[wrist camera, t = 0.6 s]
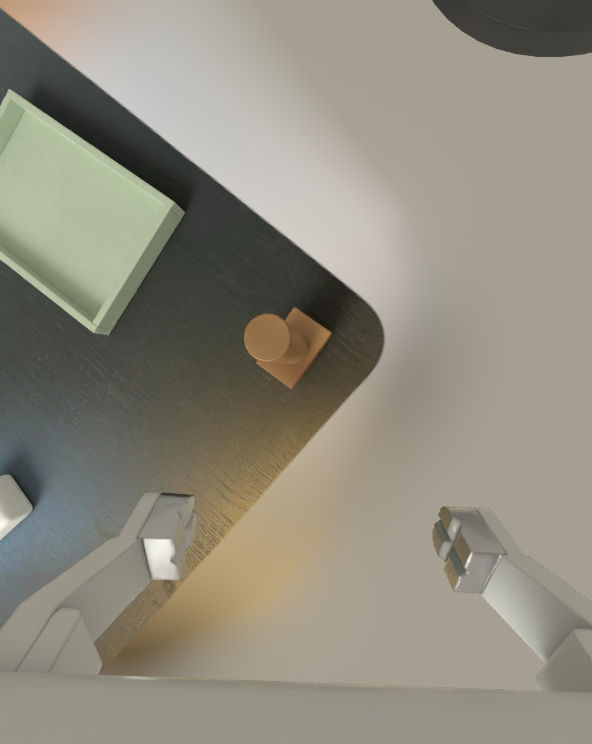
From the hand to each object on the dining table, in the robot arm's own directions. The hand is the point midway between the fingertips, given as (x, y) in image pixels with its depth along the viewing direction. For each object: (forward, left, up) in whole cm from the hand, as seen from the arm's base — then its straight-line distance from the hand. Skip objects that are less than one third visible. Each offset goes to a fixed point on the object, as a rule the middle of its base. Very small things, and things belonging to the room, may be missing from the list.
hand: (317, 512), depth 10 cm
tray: (0, -37, -20) cm, 42 cm away
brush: (-3, -7, -20) cm, 21 cm away
